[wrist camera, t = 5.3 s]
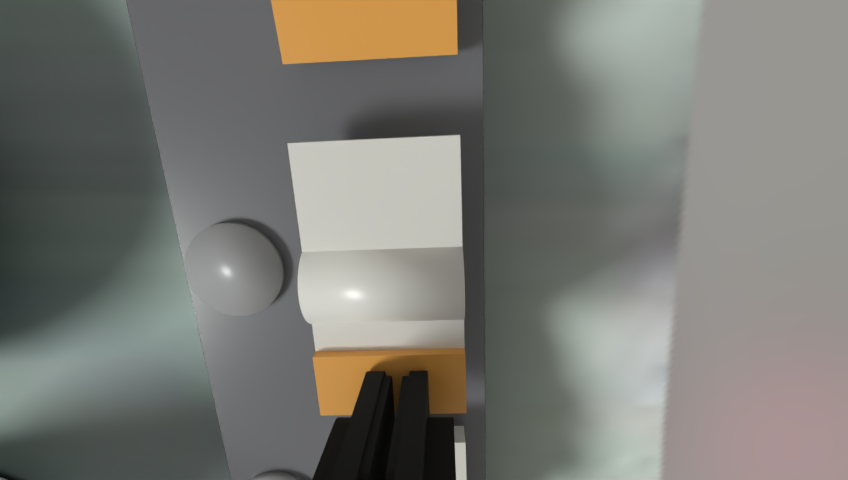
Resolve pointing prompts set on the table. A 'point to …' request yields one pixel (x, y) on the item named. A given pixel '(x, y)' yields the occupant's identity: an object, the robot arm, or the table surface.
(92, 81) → the table surface
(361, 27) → the rocker
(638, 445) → the table surface
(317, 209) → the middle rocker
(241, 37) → the switch panel
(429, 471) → the robot arm
